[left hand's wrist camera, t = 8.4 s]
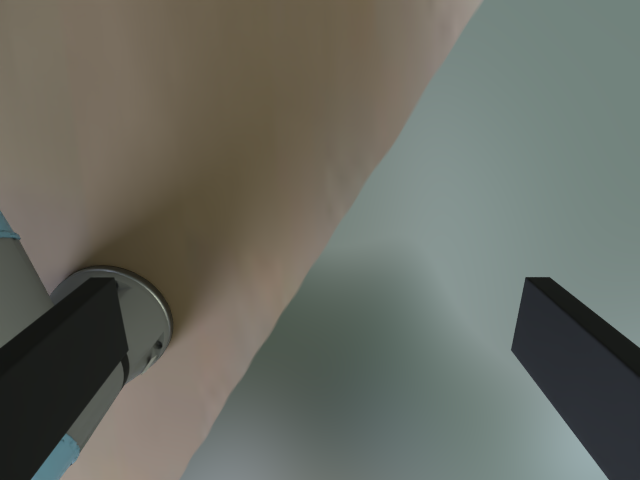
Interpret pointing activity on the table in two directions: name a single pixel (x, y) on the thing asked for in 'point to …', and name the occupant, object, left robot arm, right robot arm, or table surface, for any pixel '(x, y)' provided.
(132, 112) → the table surface
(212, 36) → the table surface
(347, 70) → the table surface
